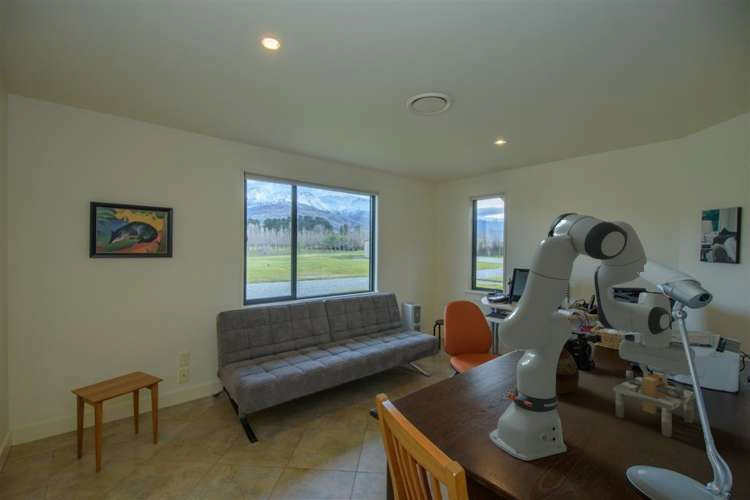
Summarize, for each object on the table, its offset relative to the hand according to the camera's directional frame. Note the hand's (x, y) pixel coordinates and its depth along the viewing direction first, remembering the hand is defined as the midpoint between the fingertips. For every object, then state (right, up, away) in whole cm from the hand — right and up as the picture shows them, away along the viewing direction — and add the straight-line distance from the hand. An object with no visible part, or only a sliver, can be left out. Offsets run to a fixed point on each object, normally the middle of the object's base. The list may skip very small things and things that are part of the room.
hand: (654, 379), depth 111 cm
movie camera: (+3, -14, +55) cm, 57 cm away
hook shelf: (0, -14, +1) cm, 14 cm away
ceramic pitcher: (-21, -14, +27) cm, 37 cm away
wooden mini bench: (0, -10, 0) cm, 10 cm away
